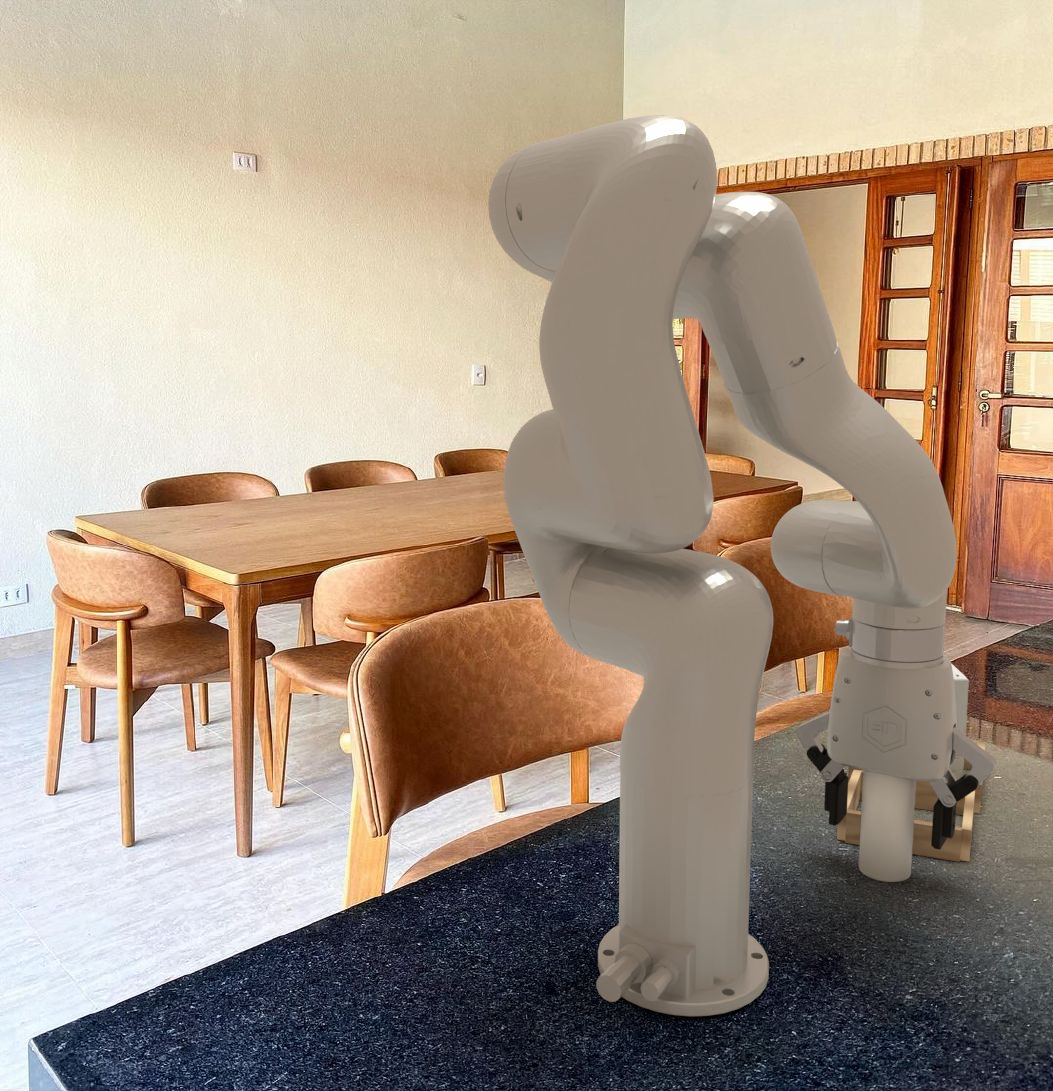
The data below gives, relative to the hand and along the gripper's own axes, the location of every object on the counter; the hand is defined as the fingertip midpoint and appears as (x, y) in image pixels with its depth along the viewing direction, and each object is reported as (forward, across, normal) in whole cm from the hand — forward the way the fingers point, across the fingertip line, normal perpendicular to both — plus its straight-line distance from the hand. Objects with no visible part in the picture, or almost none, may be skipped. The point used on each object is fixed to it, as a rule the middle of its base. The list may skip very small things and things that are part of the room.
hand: (887, 830), depth 96 cm
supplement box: (+4, -2, +22) cm, 23 cm away
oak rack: (+4, -2, +16) cm, 16 cm away
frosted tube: (+4, 0, 0) cm, 4 cm away
